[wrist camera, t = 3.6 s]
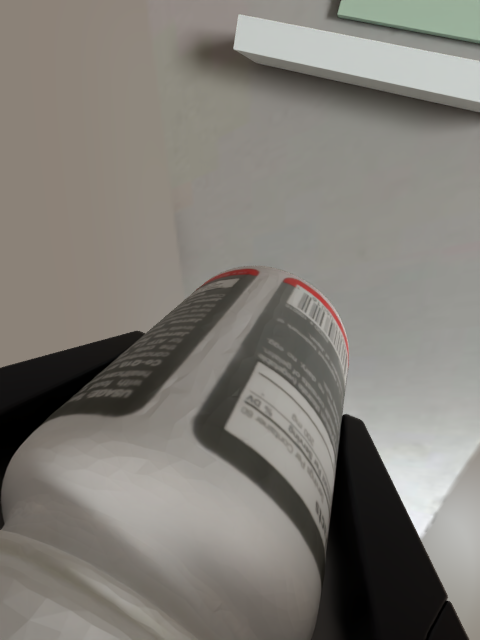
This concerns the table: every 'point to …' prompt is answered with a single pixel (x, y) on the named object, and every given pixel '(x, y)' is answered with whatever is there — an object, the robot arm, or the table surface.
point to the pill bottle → (185, 477)
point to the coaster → (419, 16)
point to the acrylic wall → (361, 62)
